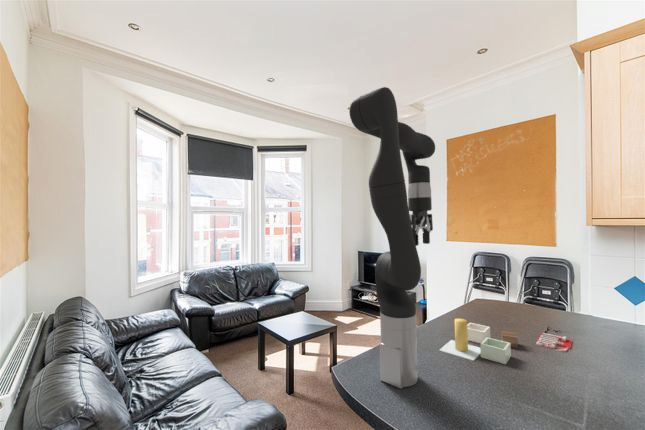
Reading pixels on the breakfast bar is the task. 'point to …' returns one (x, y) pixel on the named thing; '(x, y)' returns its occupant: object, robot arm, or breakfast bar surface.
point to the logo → (554, 341)
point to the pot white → (477, 332)
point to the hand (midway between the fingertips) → (420, 244)
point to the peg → (461, 335)
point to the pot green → (495, 350)
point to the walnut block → (510, 338)
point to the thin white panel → (470, 354)
